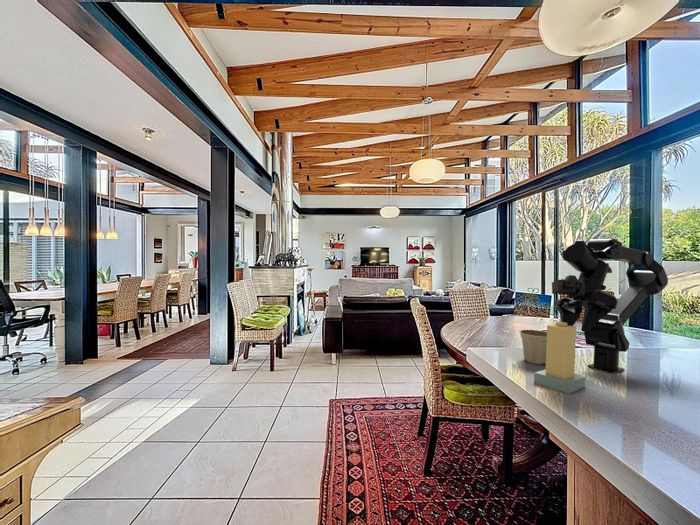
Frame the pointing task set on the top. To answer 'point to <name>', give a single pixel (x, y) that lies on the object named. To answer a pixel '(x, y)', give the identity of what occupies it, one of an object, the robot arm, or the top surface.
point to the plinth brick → (560, 381)
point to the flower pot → (534, 345)
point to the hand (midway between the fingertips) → (573, 332)
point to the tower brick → (560, 350)
